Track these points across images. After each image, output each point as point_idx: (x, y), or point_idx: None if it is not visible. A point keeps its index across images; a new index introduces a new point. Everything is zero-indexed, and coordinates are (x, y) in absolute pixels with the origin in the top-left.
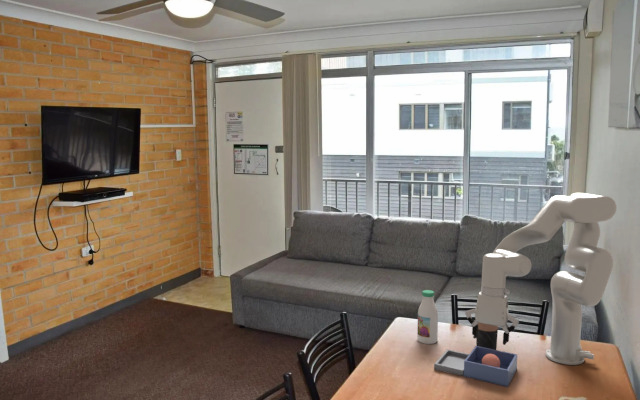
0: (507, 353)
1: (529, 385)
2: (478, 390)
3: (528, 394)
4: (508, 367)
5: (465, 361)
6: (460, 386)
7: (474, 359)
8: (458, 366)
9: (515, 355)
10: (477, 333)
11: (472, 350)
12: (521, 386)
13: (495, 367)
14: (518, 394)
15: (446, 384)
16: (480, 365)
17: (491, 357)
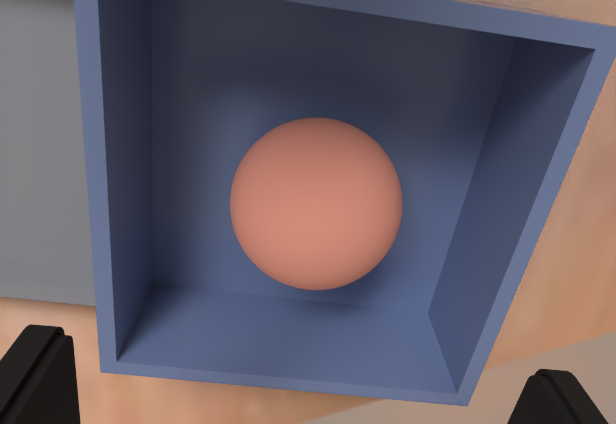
0: (502, 32)
1: (578, 249)
2: (268, 398)
3: (545, 351)
4: (473, 360)
5: (113, 371)
6: (164, 393)
7: (141, 57)
8: (54, 181)
9: (593, 77)
10: (50, 400)
11: (87, 123)
12: (521, 279)
13: (367, 391)
14: (487, 368)
15: (85, 398)
16: (245, 377)
17: (324, 281)
